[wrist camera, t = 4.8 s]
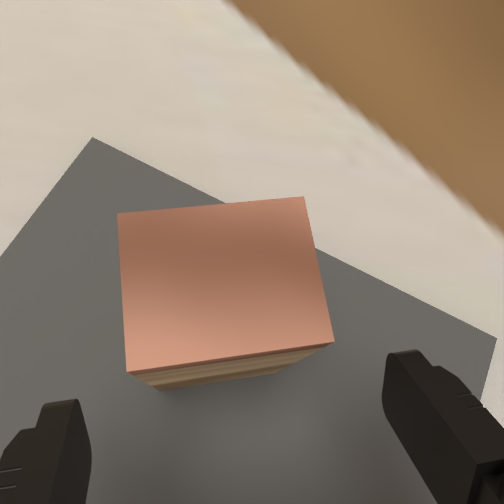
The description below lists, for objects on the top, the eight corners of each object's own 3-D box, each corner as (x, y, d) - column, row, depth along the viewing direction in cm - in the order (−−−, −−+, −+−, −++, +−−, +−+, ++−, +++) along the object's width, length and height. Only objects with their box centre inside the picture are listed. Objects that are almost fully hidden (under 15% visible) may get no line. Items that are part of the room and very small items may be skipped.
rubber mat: (-101, 400, 18) (-110, 400, 17) (95, 144, 23) (92, 137, 22) (396, 675, 17) (403, 684, 16) (489, 340, 22) (497, 338, 21)
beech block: (275, 373, 19) (334, 341, 11) (159, 391, 19) (126, 371, 10) (261, 285, 21) (303, 196, 12) (151, 298, 20) (116, 213, 11)
